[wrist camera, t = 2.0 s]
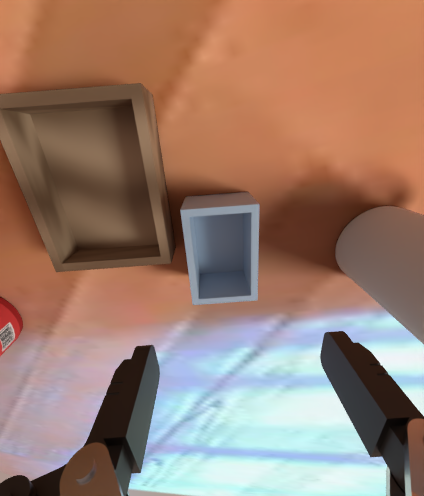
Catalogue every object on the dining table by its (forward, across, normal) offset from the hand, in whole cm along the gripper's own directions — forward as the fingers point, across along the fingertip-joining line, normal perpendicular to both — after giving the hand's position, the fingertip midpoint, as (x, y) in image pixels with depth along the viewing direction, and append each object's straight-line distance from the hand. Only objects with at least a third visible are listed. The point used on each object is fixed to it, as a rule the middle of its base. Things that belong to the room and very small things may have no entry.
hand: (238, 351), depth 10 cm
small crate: (+14, 0, 0) cm, 14 cm away
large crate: (+14, +10, -6) cm, 18 cm away
